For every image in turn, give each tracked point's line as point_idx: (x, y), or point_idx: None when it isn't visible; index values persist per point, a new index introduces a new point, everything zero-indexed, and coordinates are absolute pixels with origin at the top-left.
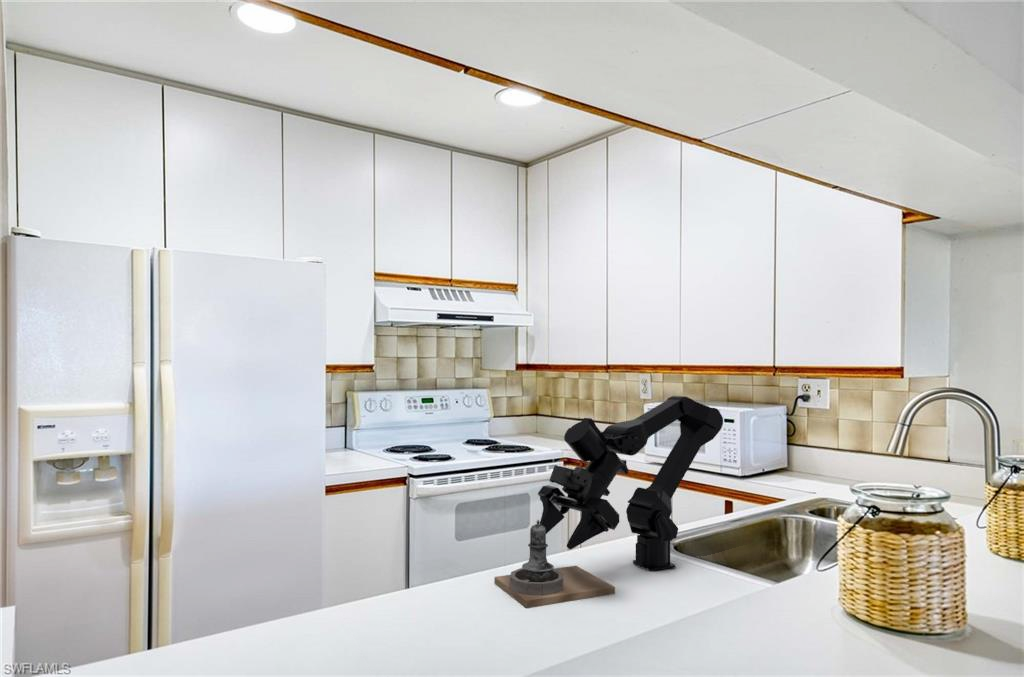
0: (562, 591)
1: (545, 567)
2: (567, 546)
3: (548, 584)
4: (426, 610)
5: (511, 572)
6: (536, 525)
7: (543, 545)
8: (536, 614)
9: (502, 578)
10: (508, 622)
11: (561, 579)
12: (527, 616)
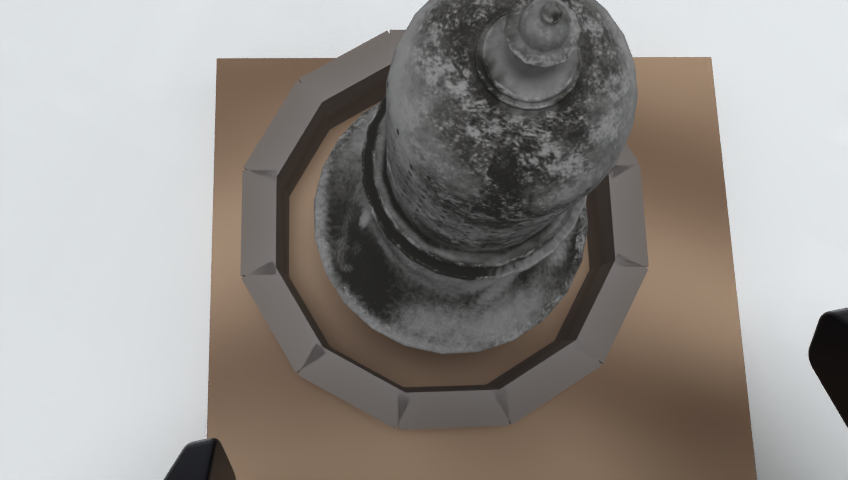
0: (274, 350)
1: (348, 232)
2: (198, 441)
3: (243, 219)
4: None
5: None
6: (502, 15)
7: (392, 189)
8: (116, 88)
9: (664, 91)
10: None
11: (286, 355)
12: (112, 32)
